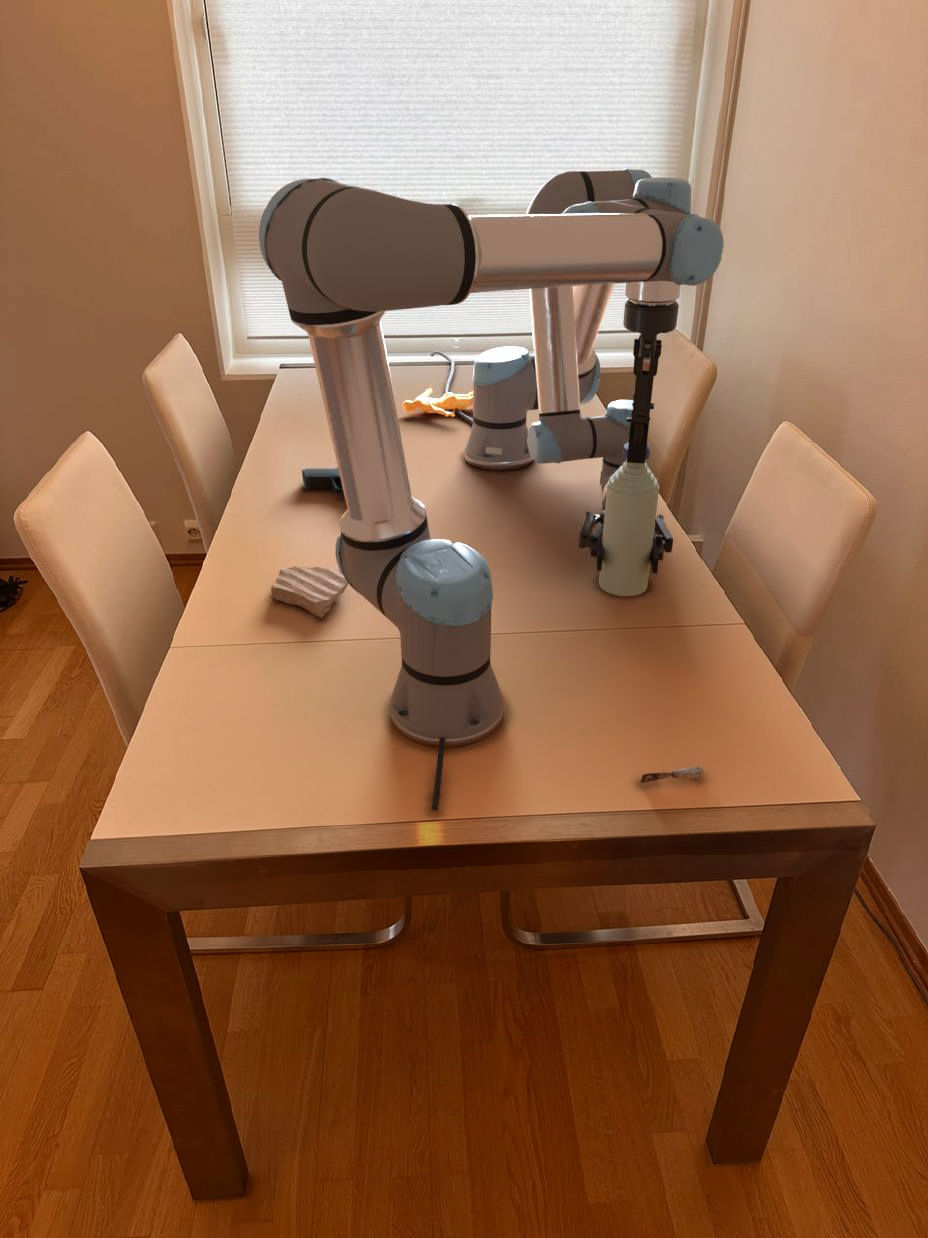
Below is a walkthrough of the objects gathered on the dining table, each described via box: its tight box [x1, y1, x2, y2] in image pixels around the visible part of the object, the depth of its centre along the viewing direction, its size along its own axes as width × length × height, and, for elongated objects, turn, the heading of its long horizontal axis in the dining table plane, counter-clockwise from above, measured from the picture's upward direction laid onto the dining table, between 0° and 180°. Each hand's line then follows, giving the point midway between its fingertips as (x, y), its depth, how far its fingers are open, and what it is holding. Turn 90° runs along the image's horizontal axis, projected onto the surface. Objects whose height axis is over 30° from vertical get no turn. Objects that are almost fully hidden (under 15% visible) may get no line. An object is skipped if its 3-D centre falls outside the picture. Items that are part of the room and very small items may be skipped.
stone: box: [270, 565, 349, 619], centre depth 147 cm, size 13×12×2 cm
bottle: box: [598, 459, 660, 597], centre depth 144 cm, size 8×8×24 cm
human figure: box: [402, 385, 473, 418], centre depth 225 cm, size 20×20×4 cm
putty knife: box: [640, 765, 705, 784], centre depth 109 cm, size 1×8×2 cm, turn 103°
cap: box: [623, 443, 651, 461], centre depth 138 cm, size 4×4×2 cm
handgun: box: [301, 466, 344, 496], centre depth 181 cm, size 3×18×12 cm
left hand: (636, 456), depth 138 cm, fingers closed on cap, 4 cm apart
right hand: (627, 564), depth 143 cm, fingers closed on bottle, 8 cm apart
